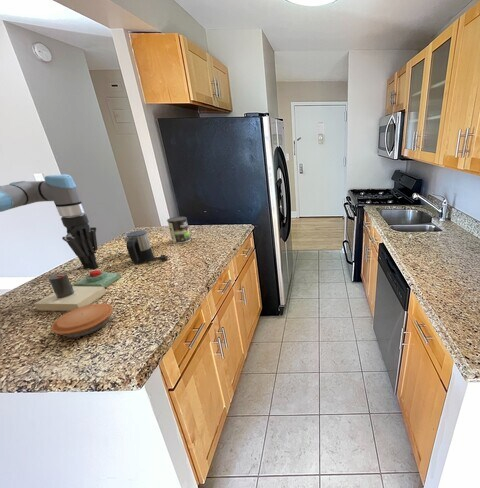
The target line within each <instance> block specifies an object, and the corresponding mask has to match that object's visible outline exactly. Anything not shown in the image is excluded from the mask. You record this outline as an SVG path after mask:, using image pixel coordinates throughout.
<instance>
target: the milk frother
mask: <svg viewBox="0 0 480 488" xmlns="http://www.w3.org/2000/svg"><path fill="white" fill-rule="evenodd" d="M125 236H127V238H128V241H127V242H126V244H125V245H126V250H127V252H128V255H129V258H130V261H131V262H132V263H135V264H143V263H148V262H151V261H154V260H155V261H156V260H162V261H164V260H166V258H169V256H168V255H165V254H161V255H160V256H157V257H155V255H154V253H153V249H152V246H151V242H150V238H149V235H148V230H145V229H140V230H139V229H138V230H133V231H130V232H127V233H126V234H125Z"/></svg>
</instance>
